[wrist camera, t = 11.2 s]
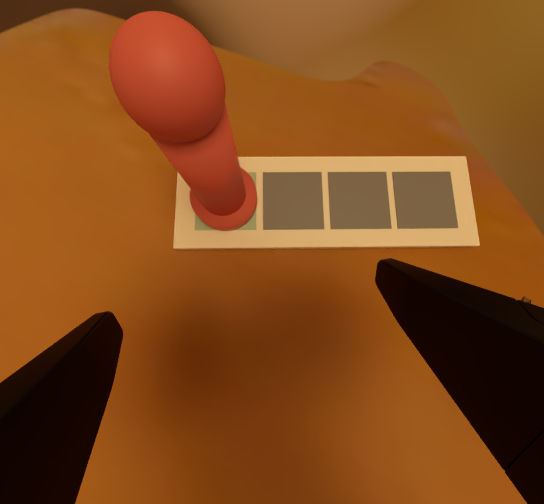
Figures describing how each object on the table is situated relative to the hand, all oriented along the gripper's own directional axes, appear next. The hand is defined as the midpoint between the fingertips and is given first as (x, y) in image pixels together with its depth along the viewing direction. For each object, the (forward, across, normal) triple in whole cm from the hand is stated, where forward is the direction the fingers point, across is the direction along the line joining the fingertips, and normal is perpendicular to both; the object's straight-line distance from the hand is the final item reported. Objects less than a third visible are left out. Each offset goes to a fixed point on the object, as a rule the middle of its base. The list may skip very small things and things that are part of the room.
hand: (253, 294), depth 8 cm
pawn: (+15, +1, +1) cm, 15 cm away
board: (+14, -8, +3) cm, 17 cm away
